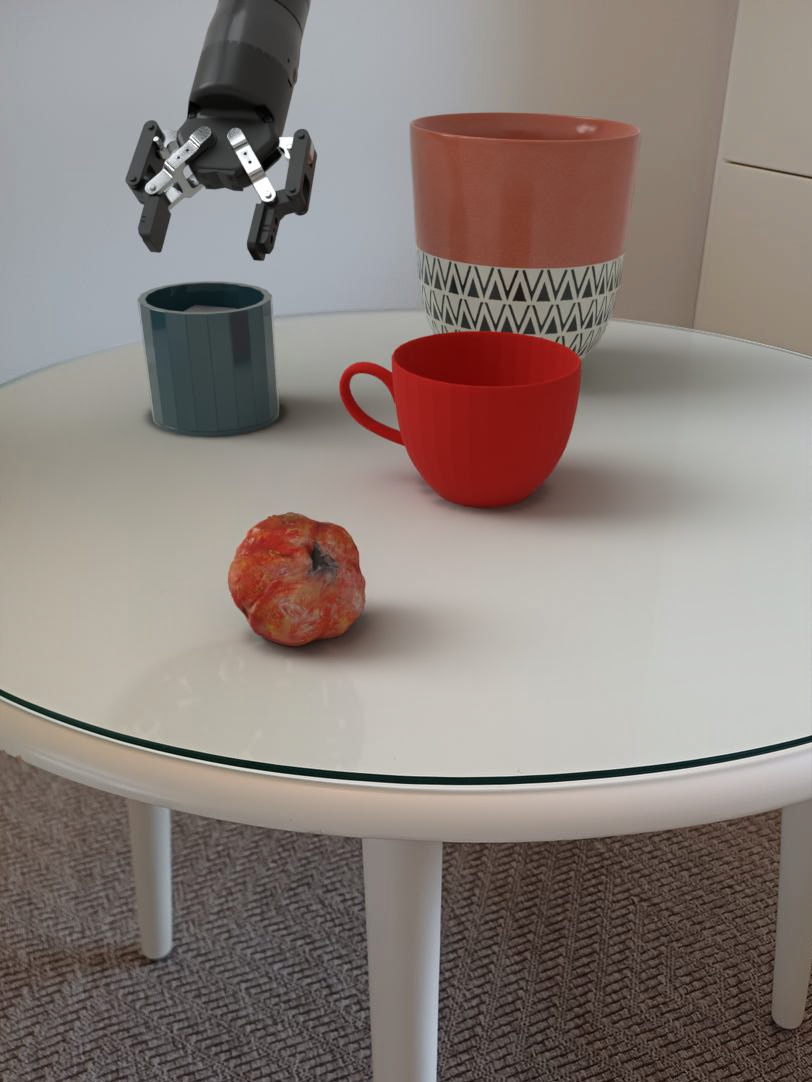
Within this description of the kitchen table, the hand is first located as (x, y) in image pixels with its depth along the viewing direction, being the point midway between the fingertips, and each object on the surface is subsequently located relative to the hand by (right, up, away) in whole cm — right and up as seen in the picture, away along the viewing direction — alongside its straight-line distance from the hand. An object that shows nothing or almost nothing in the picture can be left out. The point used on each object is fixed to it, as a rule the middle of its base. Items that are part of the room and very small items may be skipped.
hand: (202, 250), depth 86 cm
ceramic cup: (+20, -19, -4) cm, 28 cm away
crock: (0, -12, +7) cm, 14 cm away
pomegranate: (+11, -30, -22) cm, 39 cm away
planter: (+25, -5, +19) cm, 32 cm away
